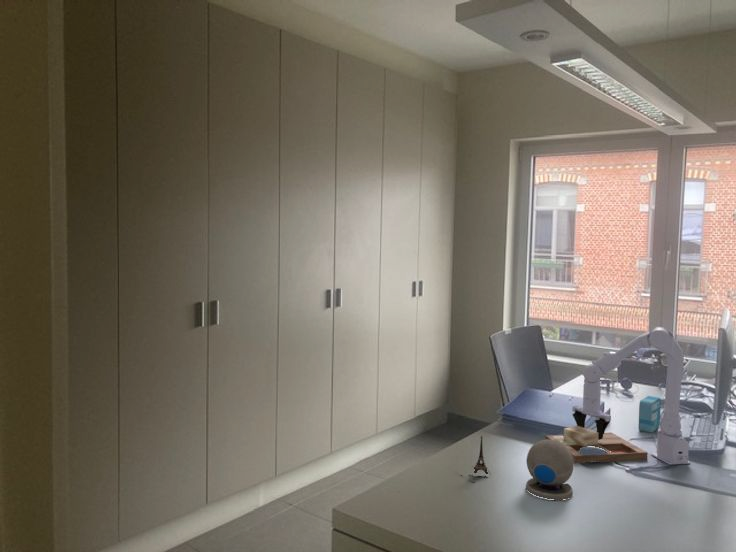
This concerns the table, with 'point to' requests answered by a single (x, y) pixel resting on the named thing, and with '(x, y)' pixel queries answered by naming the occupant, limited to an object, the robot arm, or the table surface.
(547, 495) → the webcam
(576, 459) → the trap deck
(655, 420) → the data package
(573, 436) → the birch block
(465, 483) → the table surface
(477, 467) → the eiffel tower figurine
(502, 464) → the table surface
